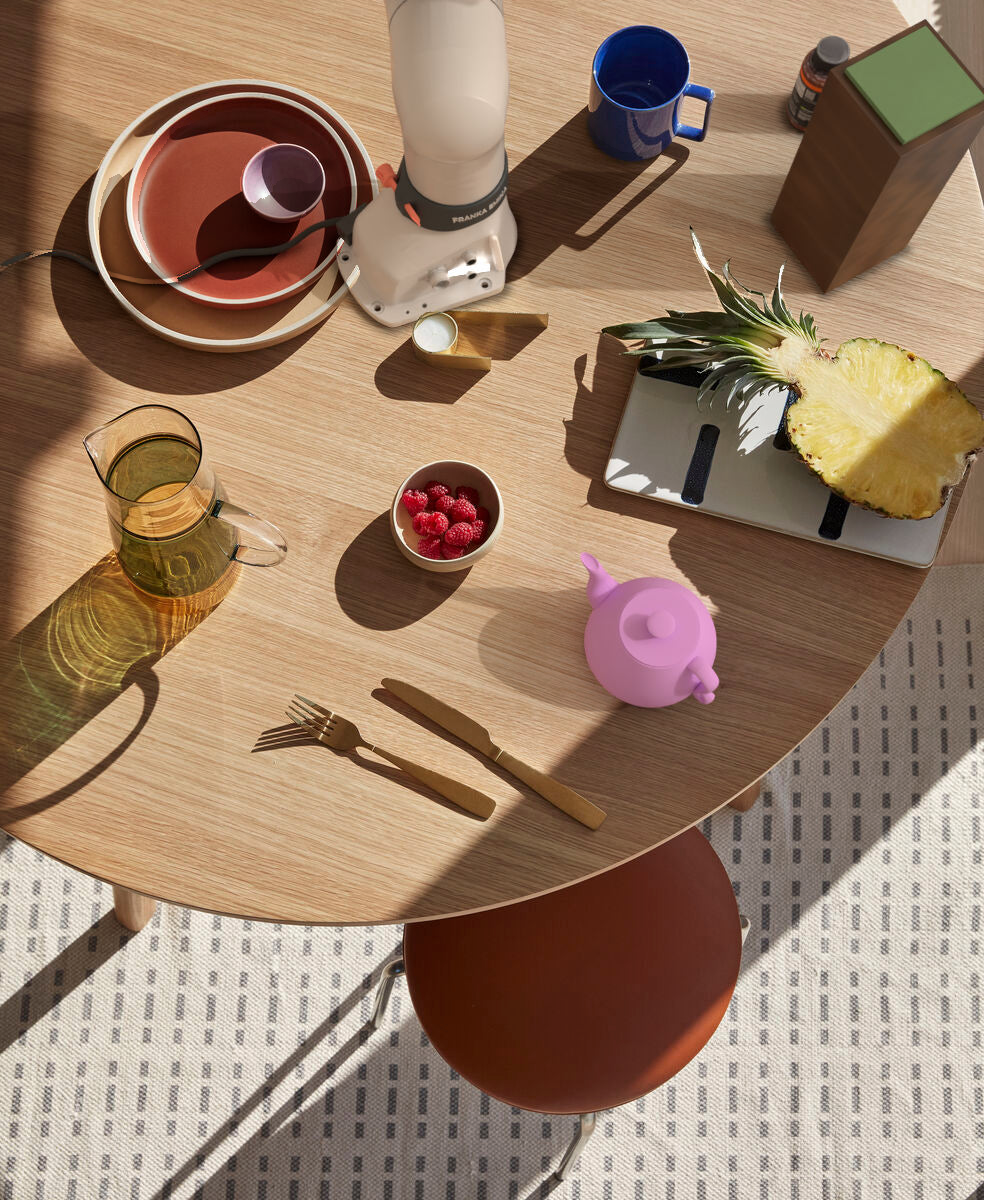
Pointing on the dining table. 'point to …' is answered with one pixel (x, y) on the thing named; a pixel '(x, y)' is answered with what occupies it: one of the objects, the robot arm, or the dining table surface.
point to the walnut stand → (864, 178)
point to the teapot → (648, 639)
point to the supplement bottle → (815, 78)
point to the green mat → (914, 85)
